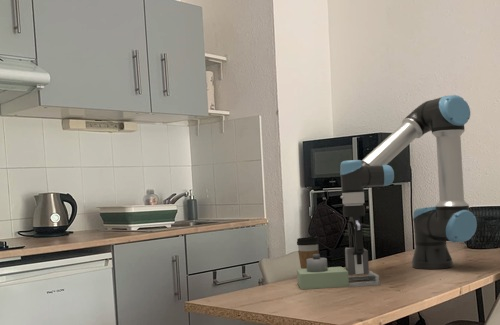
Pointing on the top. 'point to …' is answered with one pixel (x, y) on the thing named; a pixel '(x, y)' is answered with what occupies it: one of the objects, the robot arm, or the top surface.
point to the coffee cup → (307, 249)
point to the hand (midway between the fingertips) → (357, 272)
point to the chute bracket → (371, 276)
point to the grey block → (351, 263)
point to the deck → (321, 275)
